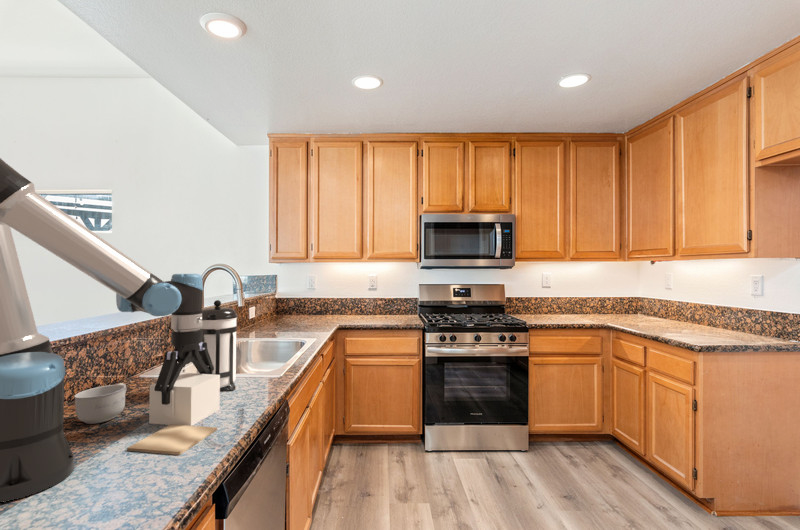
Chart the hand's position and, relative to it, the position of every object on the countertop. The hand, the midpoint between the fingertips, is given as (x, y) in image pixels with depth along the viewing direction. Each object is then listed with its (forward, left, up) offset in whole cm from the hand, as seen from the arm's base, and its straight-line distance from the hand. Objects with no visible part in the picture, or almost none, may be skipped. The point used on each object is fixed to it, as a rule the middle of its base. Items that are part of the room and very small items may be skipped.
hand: (186, 406), depth 104 cm
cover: (0, 0, -3) cm, 3 cm away
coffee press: (+23, +6, -3) cm, 24 cm away
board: (-14, -7, -3) cm, 16 cm away
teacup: (-4, +21, -3) cm, 22 cm away
